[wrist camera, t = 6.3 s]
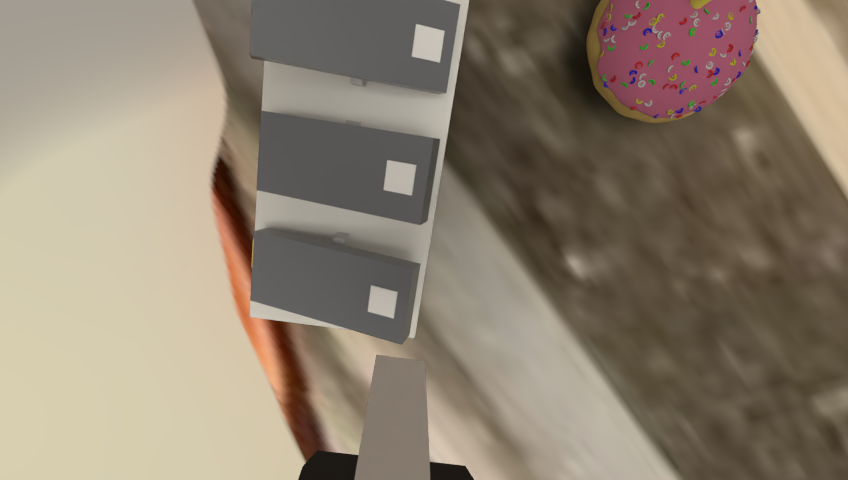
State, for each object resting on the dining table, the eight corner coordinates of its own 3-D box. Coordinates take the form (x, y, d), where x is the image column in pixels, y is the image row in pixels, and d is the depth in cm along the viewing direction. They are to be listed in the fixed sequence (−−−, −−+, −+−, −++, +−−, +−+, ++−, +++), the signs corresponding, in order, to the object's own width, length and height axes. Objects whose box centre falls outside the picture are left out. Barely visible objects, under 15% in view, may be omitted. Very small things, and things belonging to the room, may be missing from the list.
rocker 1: (256, -42, 18) (254, -53, 17) (451, 10, 21) (461, 3, 20) (251, 58, 19) (249, 54, 18) (438, 94, 22) (447, 93, 21)
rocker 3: (268, 227, 24) (253, 231, 22) (420, 263, 21) (412, 270, 20) (264, 293, 24) (249, 300, 23) (409, 335, 22) (401, 345, 21)
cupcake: (549, 3, 26) (657, -102, 14) (685, -42, 26) (911, -189, 14) (578, 140, 28) (693, 145, 16) (705, 100, 28) (916, 76, 16)
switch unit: (294, -24, 25) (254, -75, 19) (462, 6, 26) (477, -34, 20) (272, 286, 30) (235, 326, 24) (414, 305, 31) (414, 349, 24)
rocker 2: (276, 112, 22) (259, 110, 21) (440, 138, 20) (433, 137, 19) (271, 188, 23) (255, 190, 22) (427, 221, 21) (419, 225, 20)
